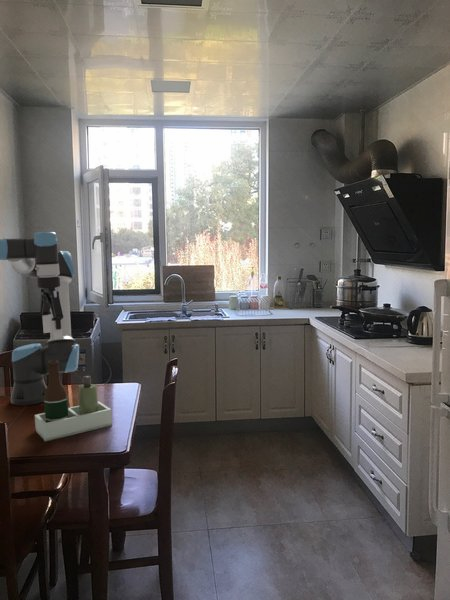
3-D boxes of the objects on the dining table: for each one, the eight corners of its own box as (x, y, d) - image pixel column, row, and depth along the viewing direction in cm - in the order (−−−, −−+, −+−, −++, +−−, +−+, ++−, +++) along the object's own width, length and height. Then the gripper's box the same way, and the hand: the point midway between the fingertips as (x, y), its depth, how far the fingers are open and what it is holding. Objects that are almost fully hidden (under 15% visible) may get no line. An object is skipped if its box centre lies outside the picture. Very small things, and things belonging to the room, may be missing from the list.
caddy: (35, 431, 171) (34, 414, 170) (100, 416, 184) (99, 401, 183) (45, 441, 161) (43, 424, 160) (112, 425, 174) (111, 409, 173)
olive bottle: (77, 422, 176) (74, 376, 175) (95, 418, 180) (92, 373, 178) (83, 426, 171) (80, 380, 169) (101, 422, 175) (98, 376, 173)
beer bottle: (62, 434, 165) (57, 363, 162) (41, 433, 166) (36, 363, 164) (74, 426, 172) (69, 358, 170) (53, 425, 174) (48, 358, 171)
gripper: (28, 275, 182) (33, 331, 185) (47, 279, 161) (52, 342, 164) (49, 273, 186) (53, 329, 189) (70, 277, 165) (74, 339, 168)
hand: (52, 335), depth 176 cm, fingers open, 13 cm apart
